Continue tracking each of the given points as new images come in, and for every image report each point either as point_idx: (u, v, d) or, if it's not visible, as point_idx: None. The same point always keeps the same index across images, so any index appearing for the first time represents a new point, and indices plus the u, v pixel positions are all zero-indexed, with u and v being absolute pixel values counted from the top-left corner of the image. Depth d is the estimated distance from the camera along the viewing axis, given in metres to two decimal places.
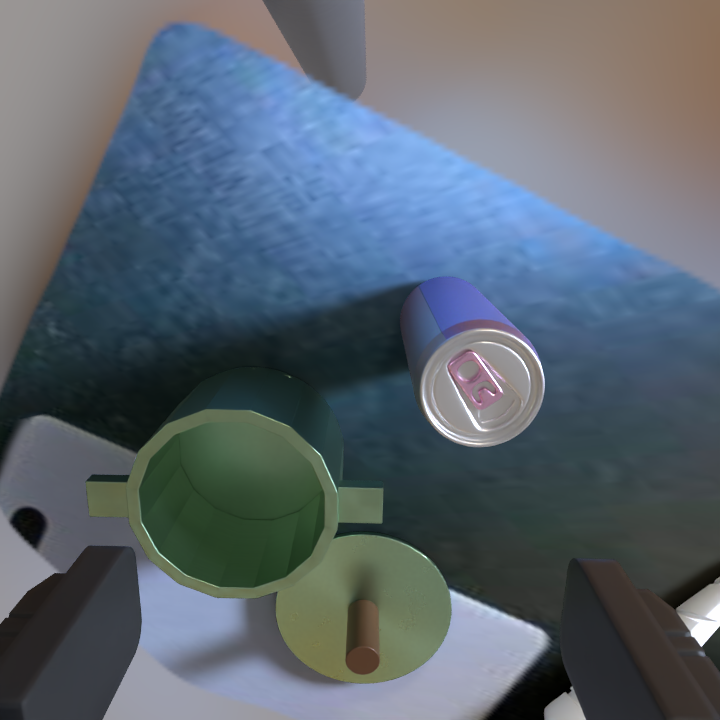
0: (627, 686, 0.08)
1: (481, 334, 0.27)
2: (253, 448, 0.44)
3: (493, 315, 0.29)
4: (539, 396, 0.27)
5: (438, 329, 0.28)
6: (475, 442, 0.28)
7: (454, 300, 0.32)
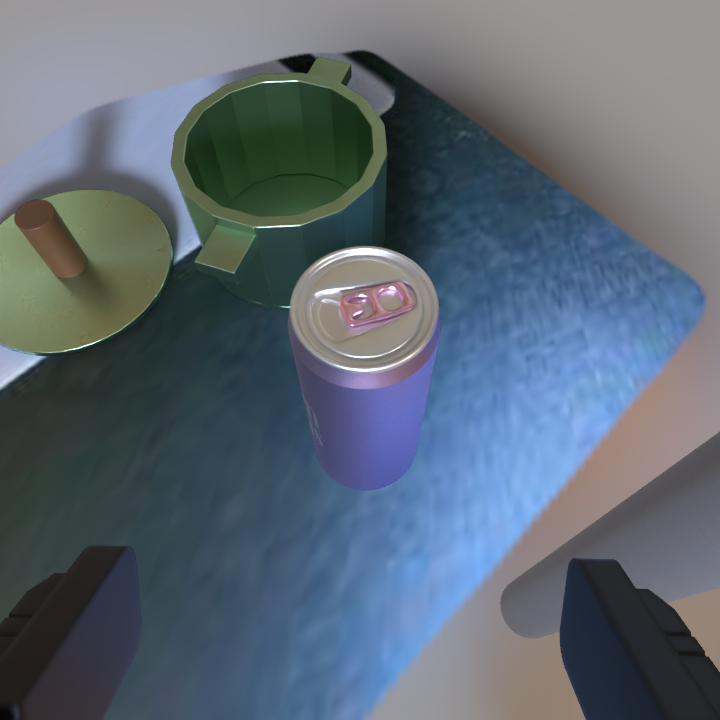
0: (627, 686, 0.08)
1: (429, 322, 0.23)
2: None
3: (426, 375, 0.24)
4: (333, 360, 0.22)
5: None
6: (301, 285, 0.23)
7: None
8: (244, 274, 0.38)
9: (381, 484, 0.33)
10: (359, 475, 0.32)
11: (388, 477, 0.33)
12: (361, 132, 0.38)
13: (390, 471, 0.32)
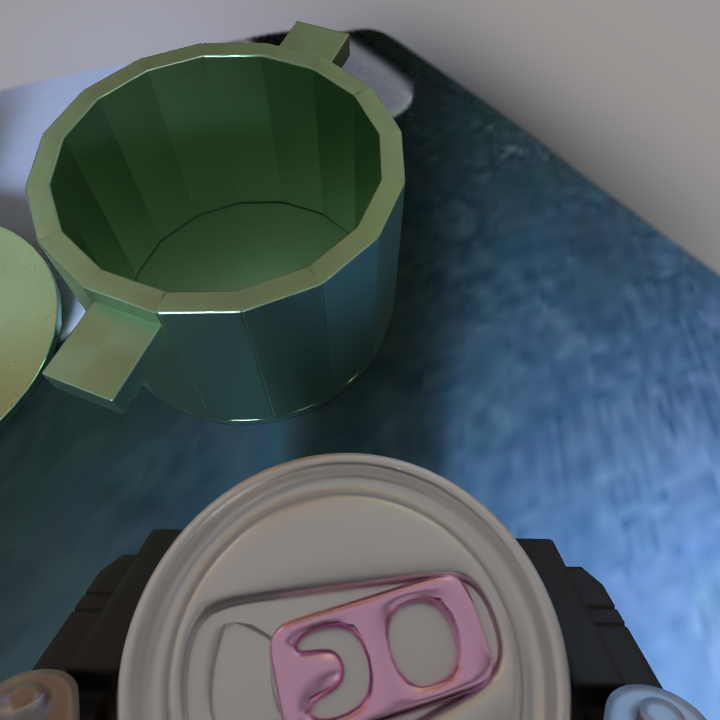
0: None
1: None
2: None
3: None
4: None
5: None
6: (167, 579, 0.08)
7: None
8: (158, 374, 0.22)
9: None
10: None
11: None
12: (362, 143, 0.23)
13: None
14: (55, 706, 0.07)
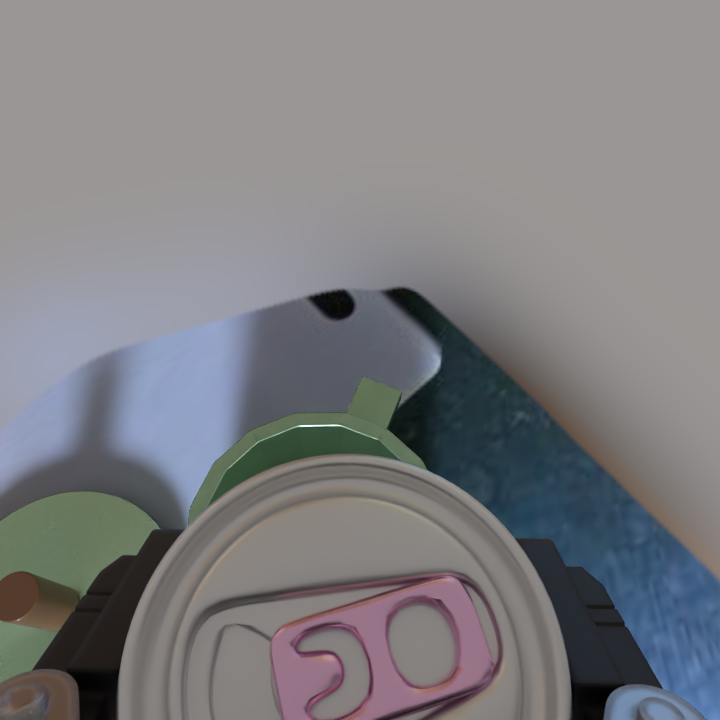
0: None
1: None
2: None
3: None
4: None
5: None
6: (167, 580, 0.08)
7: None
8: None
9: None
10: None
11: None
12: None
13: None
14: (55, 706, 0.07)
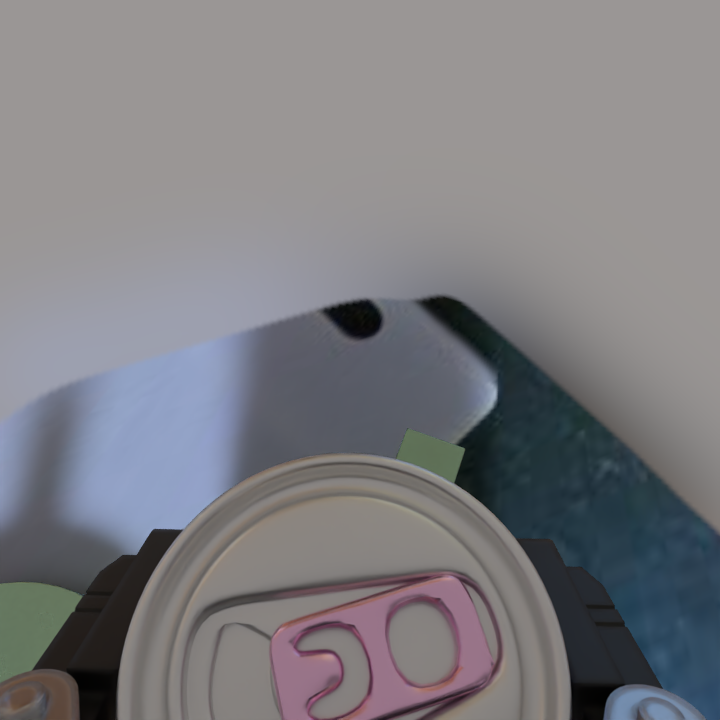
0: None
1: None
2: None
3: None
4: None
5: None
6: (167, 579, 0.08)
7: None
8: None
9: None
10: None
11: None
12: None
13: None
14: (55, 706, 0.07)
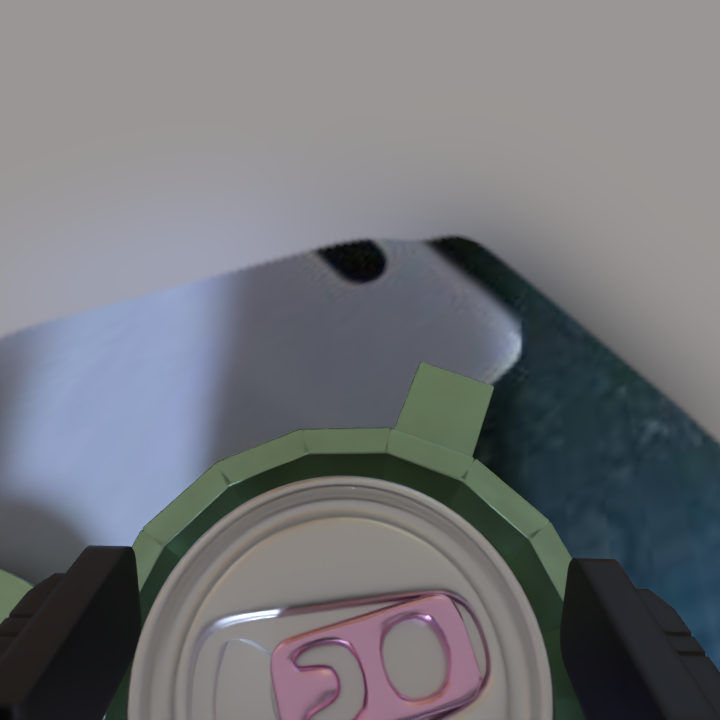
0: (627, 686, 0.08)
1: None
2: None
3: None
4: None
5: None
6: (172, 597, 0.09)
7: None
8: None
9: None
10: None
11: None
12: (528, 578, 0.17)
13: None
14: None
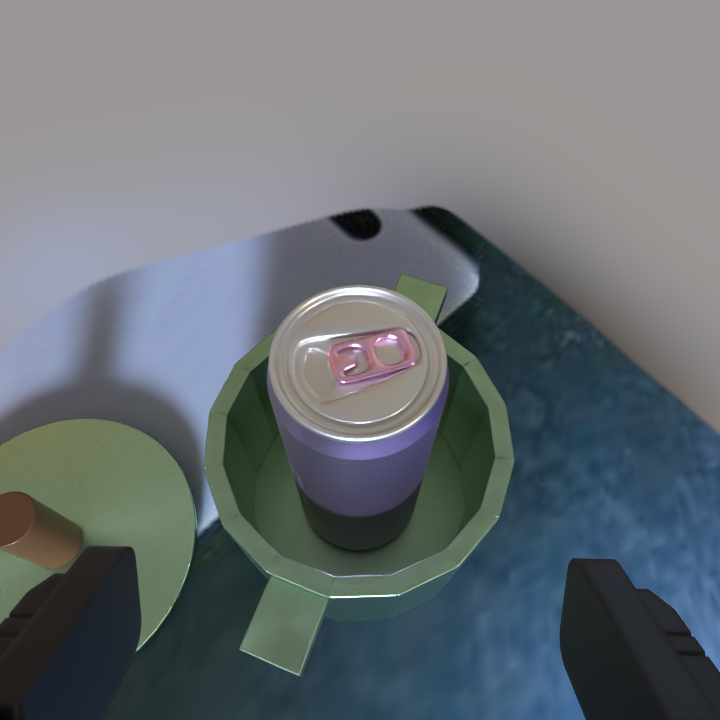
0: (627, 686, 0.08)
1: (435, 381, 0.19)
2: None
3: (429, 439, 0.20)
4: (318, 426, 0.18)
5: None
6: (284, 330, 0.20)
7: None
8: None
9: (375, 544, 0.30)
10: (350, 536, 0.28)
11: (383, 538, 0.29)
12: (465, 396, 0.28)
13: (385, 532, 0.28)
14: None
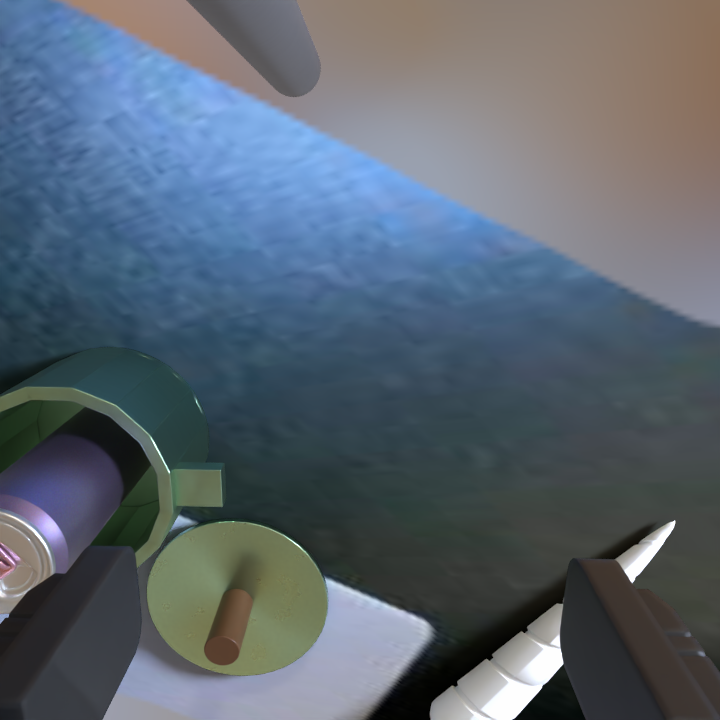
0: (627, 686, 0.08)
1: None
2: None
3: (30, 482, 0.30)
4: (48, 569, 0.28)
5: None
6: None
7: (38, 450, 0.33)
8: (196, 460, 0.40)
9: None
10: None
11: None
12: None
13: None
14: None
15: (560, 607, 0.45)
